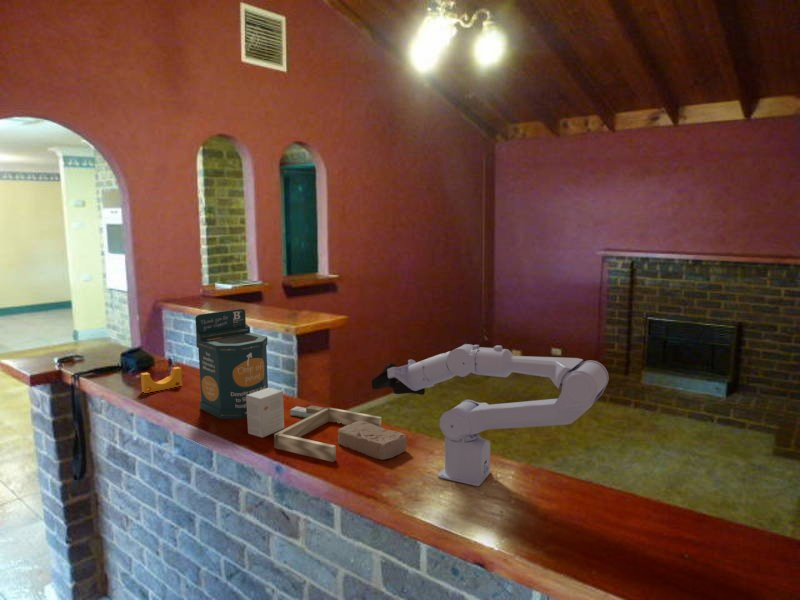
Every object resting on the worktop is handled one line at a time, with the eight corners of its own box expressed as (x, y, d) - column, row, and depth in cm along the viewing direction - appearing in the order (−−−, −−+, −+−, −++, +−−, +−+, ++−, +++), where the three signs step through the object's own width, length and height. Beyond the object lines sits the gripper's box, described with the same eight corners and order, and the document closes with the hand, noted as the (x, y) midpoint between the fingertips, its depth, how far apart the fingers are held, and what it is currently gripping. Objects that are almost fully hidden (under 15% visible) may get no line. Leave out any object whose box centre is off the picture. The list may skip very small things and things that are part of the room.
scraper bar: (325, 418, 161) (325, 407, 160) (319, 421, 158) (319, 410, 157) (297, 412, 165) (296, 402, 165) (290, 416, 162) (290, 405, 162)
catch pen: (381, 429, 151) (381, 417, 150) (332, 462, 131) (332, 447, 131) (327, 419, 159) (327, 407, 158) (274, 448, 139) (273, 434, 139)
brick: (335, 444, 142) (335, 426, 141) (360, 435, 148) (359, 417, 148) (384, 464, 131) (384, 444, 130) (408, 452, 137) (408, 434, 137)
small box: (270, 424, 155) (268, 386, 154) (284, 428, 152) (283, 390, 151) (247, 433, 149) (245, 394, 147) (262, 438, 146) (260, 398, 144)
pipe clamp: (177, 384, 193) (175, 365, 192) (182, 387, 190) (181, 368, 189) (140, 391, 185) (138, 372, 184) (145, 394, 182) (143, 375, 181)
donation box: (248, 396, 179) (244, 308, 175) (278, 408, 168) (274, 314, 164) (200, 409, 168) (194, 315, 164) (228, 422, 157) (223, 322, 153)
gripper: (446, 360, 133) (401, 376, 140) (408, 347, 122) (361, 365, 129) (451, 389, 130) (404, 404, 137) (411, 379, 119) (363, 395, 126)
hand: (383, 387), depth 133 cm, fingers open, 7 cm apart
